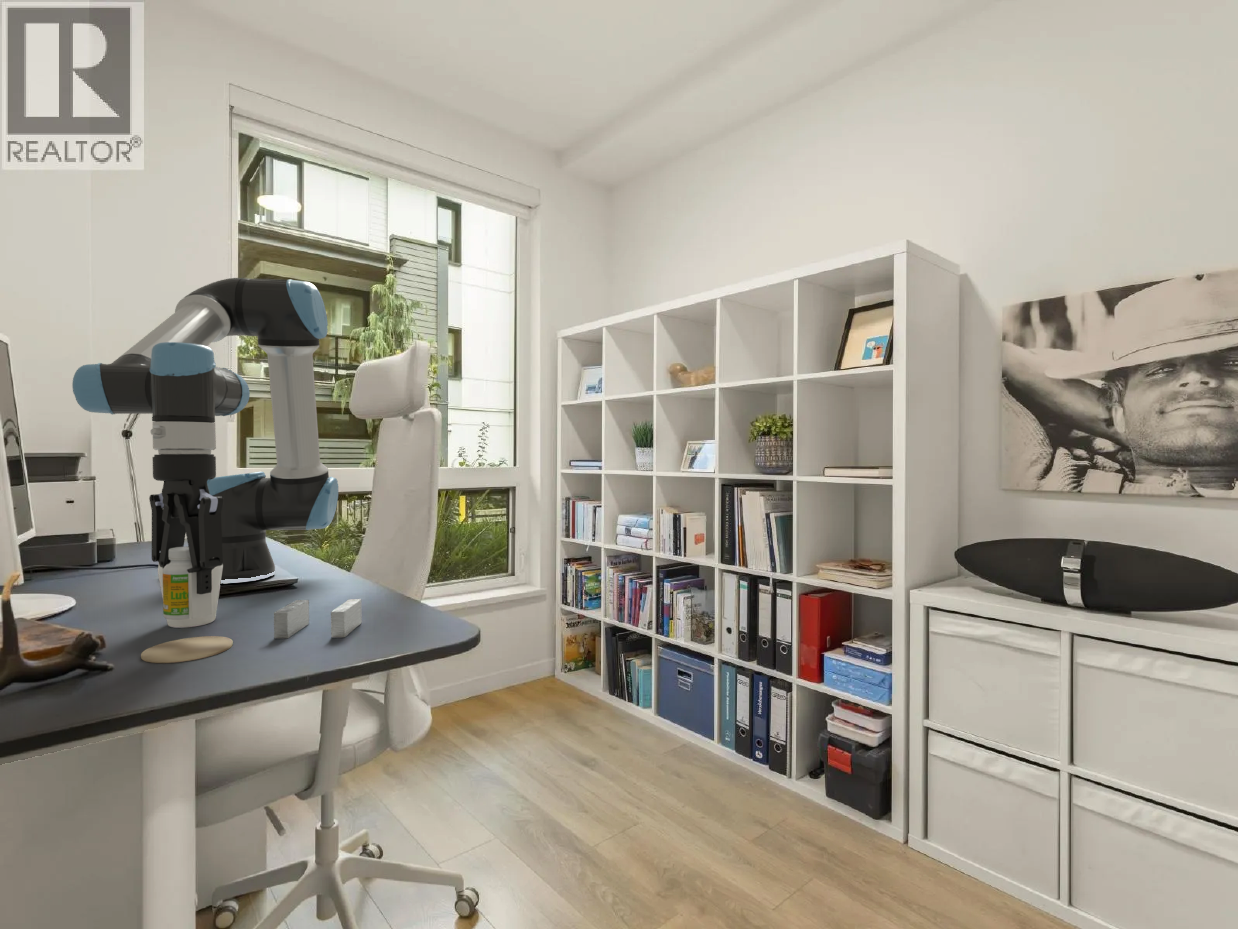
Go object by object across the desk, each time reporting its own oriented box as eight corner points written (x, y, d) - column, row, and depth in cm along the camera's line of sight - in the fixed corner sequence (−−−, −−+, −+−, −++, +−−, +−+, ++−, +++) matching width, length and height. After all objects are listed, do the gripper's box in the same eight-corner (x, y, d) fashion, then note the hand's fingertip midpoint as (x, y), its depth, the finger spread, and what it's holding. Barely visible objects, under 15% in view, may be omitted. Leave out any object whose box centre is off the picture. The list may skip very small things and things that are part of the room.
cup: (192, 632, 102) (190, 556, 102) (144, 628, 104) (143, 554, 104) (236, 617, 111) (235, 547, 111) (192, 614, 113) (190, 545, 113)
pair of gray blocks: (296, 624, 107) (296, 600, 107) (361, 623, 108) (361, 599, 107) (274, 638, 99) (273, 612, 99) (344, 637, 100) (344, 611, 99)
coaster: (172, 639, 98) (172, 636, 98) (247, 638, 99) (247, 635, 99) (121, 664, 87) (121, 661, 87) (206, 662, 88) (206, 659, 88)
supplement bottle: (165, 622, 89) (164, 552, 89) (160, 614, 93) (160, 547, 93) (211, 616, 93) (210, 548, 92) (204, 608, 97) (204, 544, 96)
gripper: (119, 452, 93) (122, 612, 94) (197, 453, 85) (199, 628, 86) (174, 452, 100) (176, 601, 100) (251, 452, 92) (253, 615, 92)
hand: (187, 613), depth 93 cm, fingers closed on supplement bottle, 5 cm apart
